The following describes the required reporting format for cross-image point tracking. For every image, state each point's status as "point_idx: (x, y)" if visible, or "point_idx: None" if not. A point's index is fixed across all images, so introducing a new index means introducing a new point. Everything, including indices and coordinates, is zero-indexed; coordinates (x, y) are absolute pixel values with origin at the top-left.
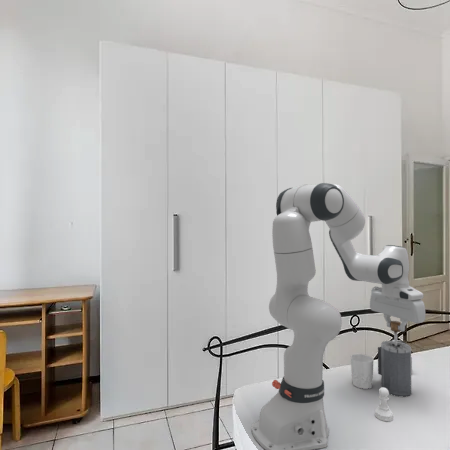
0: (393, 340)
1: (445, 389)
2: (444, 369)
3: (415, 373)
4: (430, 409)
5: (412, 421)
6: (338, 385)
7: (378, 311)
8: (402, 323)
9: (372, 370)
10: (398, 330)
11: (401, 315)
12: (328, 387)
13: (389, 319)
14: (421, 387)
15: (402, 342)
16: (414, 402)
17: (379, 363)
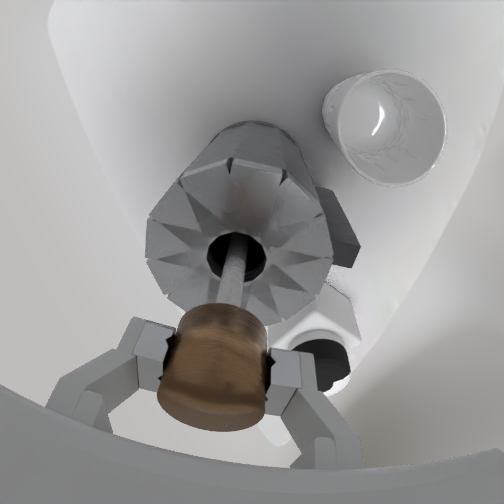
0: (340, 384)
1: None
2: None
3: None
4: (124, 136)
5: (123, 28)
6: (409, 48)
7: (433, 469)
8: (84, 371)
9: (329, 123)
10: (178, 328)
11: (21, 443)
12: (420, 13)
13: (299, 430)
14: None
15: None
16: (171, 135)
17: (333, 206)
